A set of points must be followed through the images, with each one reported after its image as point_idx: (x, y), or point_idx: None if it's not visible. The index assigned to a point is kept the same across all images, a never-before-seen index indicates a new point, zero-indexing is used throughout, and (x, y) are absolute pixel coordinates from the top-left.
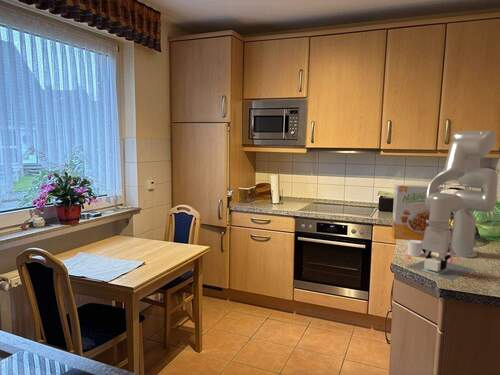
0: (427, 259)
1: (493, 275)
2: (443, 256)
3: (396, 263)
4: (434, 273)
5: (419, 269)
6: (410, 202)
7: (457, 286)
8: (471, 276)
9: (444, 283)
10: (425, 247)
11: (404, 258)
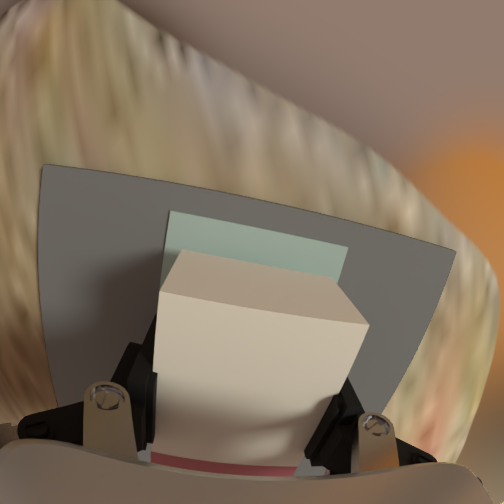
0: (337, 355)
1: None
2: (98, 432)
3: (498, 290)
4: (207, 231)
5: (362, 257)
6: None
7: (5, 84)
8: (27, 374)
9: (79, 57)
10: (451, 489)
11: (450, 411)
